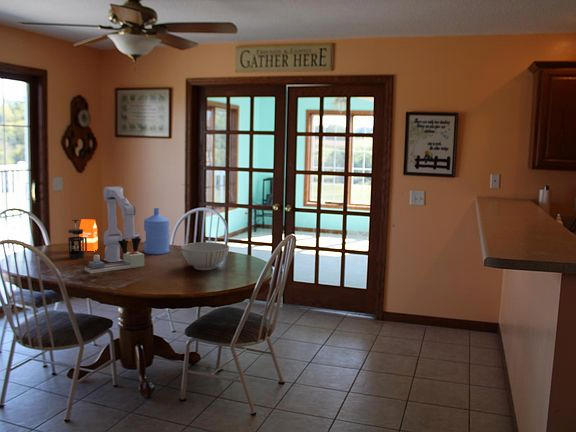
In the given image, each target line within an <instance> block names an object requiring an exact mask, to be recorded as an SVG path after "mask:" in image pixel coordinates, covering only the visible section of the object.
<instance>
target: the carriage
mask: <svg viewBox="0 0 576 432" xmlns="http://www.w3.org/2000/svg"><path fill="white" fill-rule="evenodd" d="M100 258H101V257H100V254H93V261H88V266H91V267H93V268H98V267H105V264H106V262H103V261H101V260H100Z"/></svg>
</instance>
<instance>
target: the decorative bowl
mask: <svg viewBox="0 0 576 432" xmlns="http://www.w3.org/2000/svg"><path fill="white" fill-rule="evenodd" d="M180 248H181V249H180V250H181V253H182V255H183V257H184V259H185V260H186V261H187V263H189V264H190V265H191V266H193V269H195V270H197V271H198V270H199V271H210V270H215V269H216V268H217V266H219V265H220V264H221V263H222V262H223V261H224V260H225V259H226V257H227V256H228V253H229V251H230V246H229V245H227V244H225V243H221V242H210V241H209V242H208V241H207V242H206V241H205V242H202V241H201V242H191V243H185V244H183V245H181V247H180Z"/></svg>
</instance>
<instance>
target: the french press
mask: <svg viewBox="0 0 576 432" xmlns="http://www.w3.org/2000/svg"><path fill="white" fill-rule="evenodd" d="M71 221H73V222H74V227H75V228H71V229H68V230H67V232H68V234H73V235H74V236H70V237H67V243H68V252H67V253H68V254H67V255H68V257H67V258H68V259H69V258H71V259H70V260H79V259H78V258H82V259H85V258H84V257H86V256H85V253H86V252H87V237H79V236H77V235H79V234H83V230H84V229H79V228H77V222H78V221H80V220H79V219H77V218H76V219H75V218H74V219H71ZM84 238H85V251H84ZM81 241H82V246H81ZM76 242H78V243H76ZM81 249H82V251H81ZM87 253H88V252H87Z"/></svg>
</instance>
